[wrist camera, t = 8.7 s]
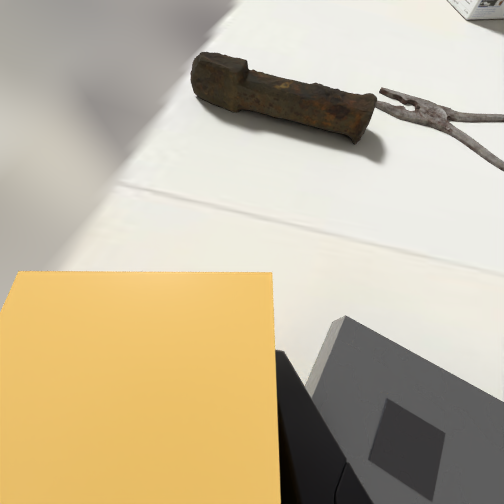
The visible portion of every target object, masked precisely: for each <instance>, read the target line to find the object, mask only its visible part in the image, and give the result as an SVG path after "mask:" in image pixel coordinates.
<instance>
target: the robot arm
mask: <svg viewBox="0 0 504 504" xmlns="http://www.w3.org/2000/svg"><path fill="white" fill-rule="evenodd" d="M275 362H276V389H277V416H278V442H279V469H280V496H281V504H374V502H373V501H372V499H371V498H370V496H369V494H368V493H367V491H366V489H365V488H364V486H363V485H362V483H361V481H360V480H359V478H358V476H357V475H356V473H355V471H354V469H353V468H352V466H351V464H350V463H349V462H347V458H346V456H345V454H344V453H343V451H342V449H341V447H340V446H339V444H338V442H337V441H336V439H335V437H334V436H333V434H332V432H331V430H330V429H329V427H328V425H327V424H326V422H325V420H324V419H323V417H322V415H321V413H320V412H319V410H318V408H317V407H316V405H315V403H314V402H313V400H312V398H311V396H310V395H309V393H308V391H307V390H306V388H305V386H304V385H303V383H302V381H301V379H300V378H299V376H298V374H297V373H296V371H295V369H294V368H293V366H292V364H291V362H290V361H289V359H288V357H287V356H286V354H285V352H284V351H281V350H275ZM346 462H347V463H346Z"/></svg>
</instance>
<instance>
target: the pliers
mask: <svg viewBox="0 0 504 504" xmlns="http://www.w3.org/2000/svg"><path fill="white" fill-rule="evenodd" d="M379 93H381V94H383V95H385V96H387V97H390V98H394V99H397V100H399V101H400V102H401V103H402V104H407V103H408V104H412V105H413V106H415V111H408V110H406V109H405V107H404V106H393V105H391V104H389V103H386V102H381V101H377V102H376V105H375V107H376V108H378V109H380V110H382V111H384V112H386V113H388V114H390V115H392V116H394V117H396V118H398V119H401V120H405V121H410V122H414V123H418V124H422V125H427V126H430V127H433V128H435V129H437V130H440V131H443V132H445V133H447V134H449V135H451V136H452V137H454V138H456V139H457V140H459V141H460V142H462V143H463V144H465V145H466V146H467V147H469V148H470V149H471V150H473V151H474V152H476V153H477V154H478V155H480V156H481V157H482V158H484V159H485V160H487V161H488V162H489V163H491V164H493V165H494V166H496V167H497V168H499V169H501V170H503V171H504V162H503V161H502V160H500V159H499V158H498V157H496V156H495V155H493V154H492V153H491V152H489V151H488V150H487V149H486V148H484V147H483V146H482V145H480V144H479V143H478V142H476V141H475V140H474V139H472V138H471V137H470V136H468V135H467V134H465V133H464V132H462V131H461V130H459V129H458V128H456V127H455V126H453V125H452V124H451V123H449V120H452V121H461V122H504V115H502V114H472V113H461V112H457V111H454V110H451V108H447V107H444V106H440V105H437V104H435V103H433V102H430V101H428V100H424V99H421V98H417V97H414V96H410V95H407V94H403V93H400V92H396V91H393V90H389V89H386V88H381V89H380V91H379Z"/></svg>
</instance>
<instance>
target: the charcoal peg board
mask: <svg viewBox="0 0 504 504" xmlns="http://www.w3.org/2000/svg"><path fill="white" fill-rule="evenodd" d="M305 388H306V390H307V391H308V393H309V395H310V396H311V398H312V400H313V402H314V403H315V405H316V407H317V408H318V410H319V412H320V413H321V415H322V417H323V419H324V420H325V422H326V424H327V425H328V427H329V429H330V430H331V432H332V434H333V436H334V437H335V439H336V441H337V442H338V444H339V446H340V447H341V449H342V451H343V453H344V454H345V456H346V458H347V462H349V463H350V464H351V466H352V468H353V469H354V471H355V473H356V475H357V476H358V478H359V480H360V481H361V483H362V485H363V486H364V488H365V489H366V491H367V493H368V494H369V496H370V498H371V499H372V501H373V502H374V504H504V402H502V401H500V400H499V399H497V398H495V397H493V396H491V395H490V394H488V393H486V392H484V391H482V390H480V389H479V388H477V387H475V386H473V385H471V384H469V383H468V382H466V381H464V380H462V379H460V378H459V377H457V376H455V375H453V374H451V373H449V372H448V371H446V370H444V369H442V368H440V367H439V366H437V365H435V364H433V363H431V362H429V361H428V360H426V359H424V358H422V357H420V356H418V355H417V354H415V353H413V352H411V351H409V350H408V349H406V348H404V347H402V346H400V345H398V344H397V343H395V342H393V341H391V340H389V339H388V338H386V337H384V336H382V335H380V334H378V333H377V332H375V331H373V330H371V329H369V328H367V327H366V326H364V325H362V324H360V323H358V322H357V321H355V320H353V319H351V318H349V317H347V316H344V317H342V318H340V319H338V320H336V321H334V322H332V324H331V327H330V329H329V331H328V334H327V336H326V338H325V341H324V343H323V345H322V348H321V350H320V352H319V355H318V357H317V359H316V362H315V364H314V366H313V369H312V371H311V373H310V376H309V378H308V380H307V383H306V385H305ZM347 462H346V463H347Z"/></svg>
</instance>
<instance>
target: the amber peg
mask: <svg viewBox="0 0 504 504" xmlns="http://www.w3.org/2000/svg"><path fill="white" fill-rule="evenodd" d="M0 504H281V496H280V469H279V442H278V416H277V389H276V362H275V335H274V308H273V281H272V272H91V271H18V274H17V276H16V278H15V280H14V283H13V285H12V287H11V289H10V292H9V294H8V296H7V299H6V301H5V303H4V305H3V308H2V310H1V312H0Z"/></svg>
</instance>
